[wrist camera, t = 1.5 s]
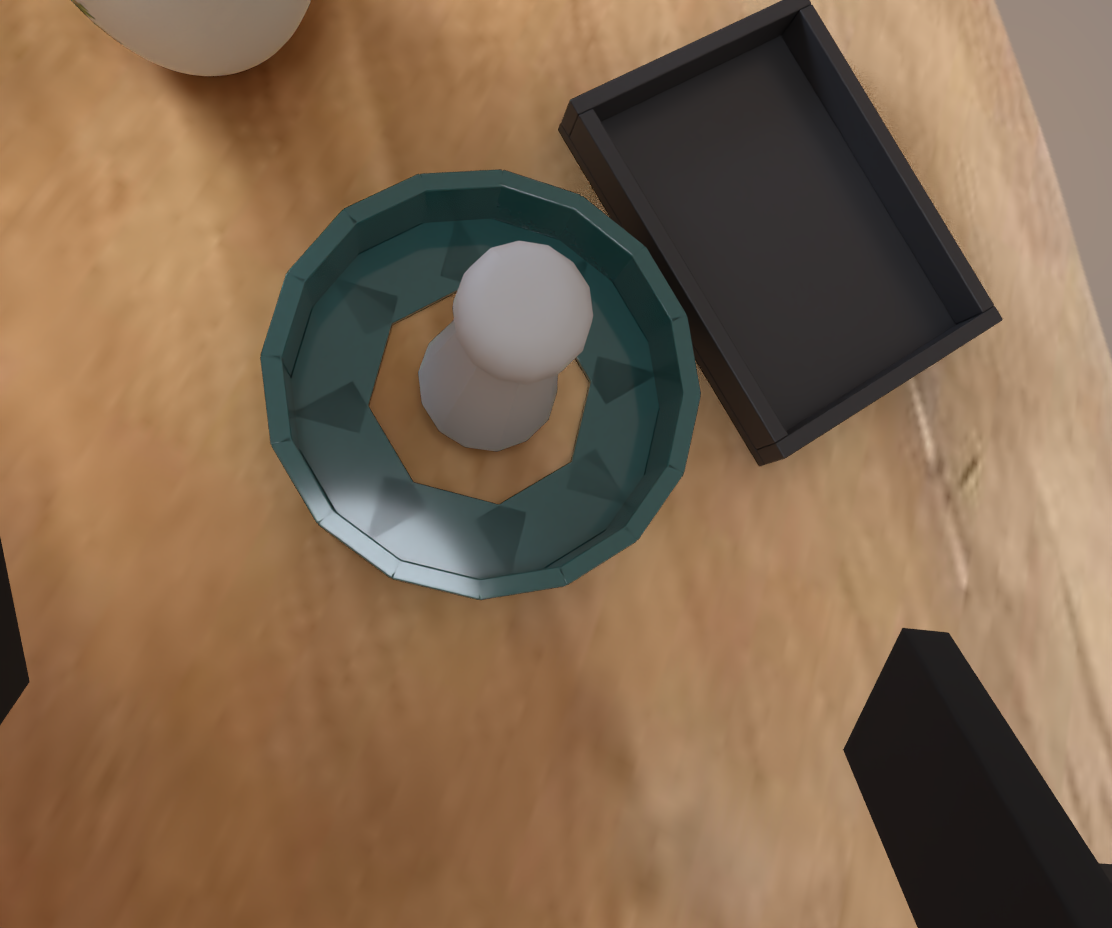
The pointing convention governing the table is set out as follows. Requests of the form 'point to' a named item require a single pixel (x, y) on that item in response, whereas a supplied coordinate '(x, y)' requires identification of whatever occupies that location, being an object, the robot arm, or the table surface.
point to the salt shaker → (506, 346)
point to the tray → (779, 223)
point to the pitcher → (199, 30)
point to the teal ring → (423, 279)
